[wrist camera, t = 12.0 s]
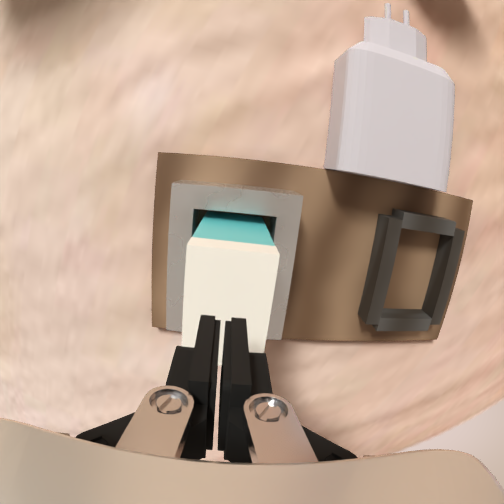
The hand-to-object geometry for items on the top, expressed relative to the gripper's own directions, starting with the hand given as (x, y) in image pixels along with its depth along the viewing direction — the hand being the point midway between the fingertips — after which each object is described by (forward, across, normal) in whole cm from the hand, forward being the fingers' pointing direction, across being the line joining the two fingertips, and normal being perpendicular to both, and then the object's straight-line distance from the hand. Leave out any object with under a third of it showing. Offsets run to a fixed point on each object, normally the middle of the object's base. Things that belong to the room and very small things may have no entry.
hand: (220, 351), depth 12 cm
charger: (+15, -11, -15) cm, 23 cm away
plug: (+13, 0, 0) cm, 13 cm away
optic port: (+14, 0, 0) cm, 14 cm away
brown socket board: (+14, -8, 0) cm, 16 cm away
